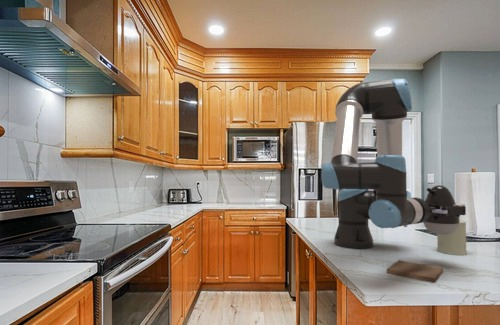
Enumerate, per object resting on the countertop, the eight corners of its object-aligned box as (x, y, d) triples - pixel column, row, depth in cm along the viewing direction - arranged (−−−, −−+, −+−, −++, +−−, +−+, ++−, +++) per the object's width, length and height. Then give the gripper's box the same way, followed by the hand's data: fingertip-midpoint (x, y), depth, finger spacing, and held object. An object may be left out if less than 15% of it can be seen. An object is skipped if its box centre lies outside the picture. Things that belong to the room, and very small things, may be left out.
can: (457, 249, 115) (456, 217, 116) (472, 255, 106) (471, 221, 107) (432, 248, 116) (431, 217, 117) (445, 254, 107) (444, 221, 108)
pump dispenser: (414, 231, 99) (413, 184, 100) (436, 229, 102) (435, 184, 103) (444, 236, 89) (442, 185, 90) (467, 234, 93) (466, 185, 94)
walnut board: (386, 272, 86) (386, 268, 87) (399, 263, 95) (399, 260, 96) (434, 282, 79) (434, 278, 79) (443, 272, 87) (443, 267, 88)
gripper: (375, 219, 95) (412, 214, 108) (454, 229, 77) (487, 222, 89) (375, 195, 96) (411, 193, 108) (453, 200, 77) (486, 197, 90)
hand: (445, 206), depth 99 cm, fingers closed on pump dispenser, 9 cm apart
